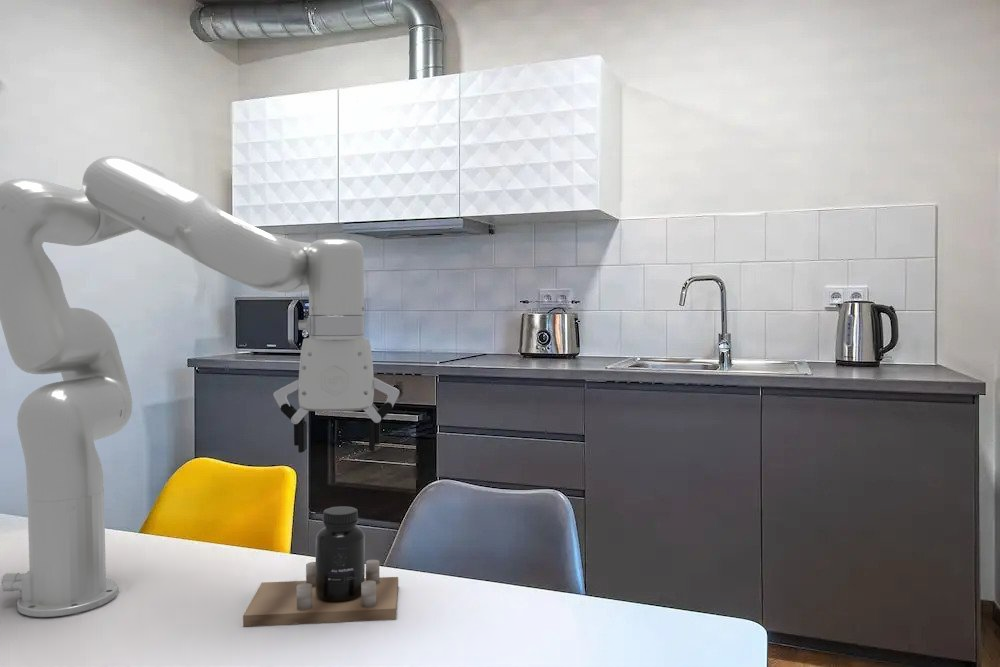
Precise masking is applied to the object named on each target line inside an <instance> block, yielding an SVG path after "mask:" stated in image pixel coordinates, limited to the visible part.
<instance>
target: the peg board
mask: <svg viewBox="0 0 1000 667" xmlns="http://www.w3.org/2000/svg"><path fill="white" fill-rule="evenodd" d="M398 593H399V576H385V577H380V560H378V559H368V560H365V581H364V582H362V583H361V596H360V597H358V598H356V599H353V600H350V601H345V602H328V601H324V600H321V599H320V598H318V596H317V595H316V561H311V562H307V563H306V564H305V580H293V581H291V580H289V581H288V580H287V581H286V580H285V581H265V582H261V583H260V585H259V587H258V588H257V590H256V591H255V594H254V595H253V597H252V599H251V601H250V603H249V604H248V606H247V607H246V610H245V611H244V613H243V615H242V627H244V628H245V627H263V626H264V627H265V626H283V625H284V626H286V625H287V626H288V625H289V626H290V625H307V624H308V625H309V624H327V623H328V624H329V623H345V622H346V623H348V622H367V621H368V622H369V621H373V622H374V621H391V620H393V621H394V620H397V609H398V597H399V594H398Z"/></svg>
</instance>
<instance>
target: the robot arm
mask: <svg viewBox="0 0 1000 667" xmlns="http://www.w3.org/2000/svg"><path fill="white" fill-rule="evenodd" d="M137 230H138V231H140V232H143V233H144V234H147V235H148V236H150V237H152V238H155V239H157V240H158V241H160V242H162V243H164V244H167V245H169V246H171V247H173V248H175V249H177V250H179V251H180V252H181V253H182V254H184V255H186V256H189V257H190V258H192V259H193V260H195V261H197V262H199V263H201V264H202V265H204V266H206V267H208V268H210V269H212V270H213V271H215V272H218V273H220V274H222V275H224V276H226V277H229V278H230V279H232V280H234V281H237V282H239V283H241V284H243V285H245V286H246V287H247V286H248V287H249V288H252V289H255V290H258V291H262V292H277V293H285V294H286V293H298V292H304V291H308V315H307V318H305V319H302V320H301V319H298V324H297V325H298V326H297V327H298V330H299V331H300V330H301V331H306V332H307V333H308V338H307V337H306V338H303V340H302V345H301V349H300V356H299V358H300V359H299V369H298V370H299V371H298V379H296V380H294V381H291V383H289V384H287V385H285V386H283V387H281V388H279V389H277V390H275V391H274V392H273V394H272V396H273V398H274V400H275V401H276V403H277V405H278V406H279V408H280V411H281V413H283V415H285V417H287V418H288V419H289V420H290V422H291V423H292V424H293V443H294V444H293V445H294V446H298V447H297V448H298V450H297V451H298V453H304V452H306V450H307V449H308V443H307V442H308V429H307V428H308V427H307V426H308V424H307V423H308V422H307V421H306V420H305V419H306V418H305V417H306V415H307V414H308V413H309V412H344V411H345V412H346V411H348V412H349V411H353V412H354V411H364V412H365V413H366V415H367V416H368V417H369V418H370V420H369V423H368V451H370V452H375V451H376V445H380V443H381V421H382V420H383V419H384V418H385V417H386V416H387V415H388V414H389V413H390V412H391V411H392V409H393V408H394V405H395V404H396V401H397V399H398V398H399V396H400V393H401V392H400V390H399V389H398V388H396V387H394V386H392V385H390V384H388V383H386V382H384V381H383V380H381V379H378V378H377V377H374V364H373V354H372V347H371V346H372V345H371V342H370V338H368V337H365V271H364V270H365V264H364V263H365V259H364V257H365V256H364V248H363V246H362V244H361V243H360V242H358V241H356V240H353V239H346V238H345V239H343V238H325V239H317V240H315V241H313V242H312V243H311V242H304V241H303V242H302V241H297V240H294V239H290V238H285V237H283V236H278V235H274V234H272V233H269V232H268V231H265V230H263V229H260V228H258V227H256V226H254V225H252V224H250V223H248V222H245V221H244V220H242V219H239V218H237V217H236V216H233V215H231V214H229V213H228V212H226V211H223V210H222V209H220V208H219V207H218V206H216V205H215V204H214V203H213V200H212V199H211V197H209V196H208V195H206V194H205V193H202V192H200V191H198V190H196V189H194V188H191V187H190V186H187V185H185V184H182V183H180V182H178V181H176V180H174V179H172V178H169V176H166V175H165V174H164V173H163V172H162V171H160V170H158V169H157V168H155V167H152V166H149V165H147V164H144V163H141V162H139V161H136V160H133V159H131V158H128V157H124V156H120V155H119V156H117V155H113V156H112V155H108V156H102V157H100V158H98V159H95V161H93V162H92V163H91V164H89V165H88V167H87V168H86V170H85V171H84V174H83V177H82V188H81V189H77V188H72V187H68V186H65V185H60V184H57V183H53V182H49V181H46V180H41V179H35V178H34V179H33V178H14V179H9V180H6V181H4V182H2V183H0V324H1V328H2V331H3V335H4V338H5V341H6V345H7V349H8V352H9V354H10V356H11V359H12V361H13V363H14V364H15V366H16V367H17V368H18V369H20V370H21V371H23V372H24V373H28V374H31V375H52V374H59V373H60V374H61V378H62V381H56V382H52V383H49V384H48V383H47V384H45V385H42V386H41V387H38V388H36V389H35V390H33V391H32V392H31V393H29V394H28V395H27V396H26V397H25V398H24V399H23V401H22V403H21V404H20V407H19V408H18V413H17V418H16V420H17V421H16V422H17V423H16V426H17V433H18V436H19V440H20V444H21V447H22V453H23V457H24V458H23V459H24V464H25V465H24V466H25V476H26V498H27V525H28V526H27V528H28V529H27V530H28V533H27V534H28V562H29V566H28V571H27V572H25V573H20V572H15V573H14V572H13V573H11V572H8V573H4V574H3V576H2V579H1V591H2V592H4V593H5V592H14V591H16V592H17V591H19V592H20V593H21V596H20V597H19V598H18V600H17V601H16V602H17V603H16V606H17V611H18V612H19V613H20V614H21V615H25V616H27V617H33V618H52V617H53V618H55V617H63V616H64V617H65V616H68V615H74V614H79V613H83V612H86V611H90V610H93V609H96V608H98V607H101V606H103V605H105V604H107V603H109V602H111V601H112V600H113V599H114V598H115V597H117V595H118V593H119V585H118V584H119V583H117V581H116V580H113V579H110V578H107V567H106V564H107V563H106V527H105V525H106V524H105V521H106V520H105V488H104V485H105V484H104V482H105V481H104V471H103V465H102V461H101V460H100V455H99V453H98V452H97V448H96V445H95V441H98V440H101V439H103V438H104V439H105V438H106V437H109V436H112V435H115V434H117V433H118V432H120V431H121V430H122V429H124V427H125V426H126V425H127V424H128V423H129V420H130V419H131V415H132V412H133V400H132V399H133V398H132V392H131V388H130V385H129V382H128V378H127V374H126V372H125V368H124V364H123V361H122V356H121V354H120V350H119V346H118V343H117V341H116V337H115V335H114V332H113V329H112V328H111V327H110V325H109V324H108V322H107V321H106V320H105V319H104V318H103V317H102V316H101V315H99V314H98V313H96V312H94V311H93V310H89V309H85V308H80V307H70V304H69V303H68V300H67V297H66V295H65V294H66V293H65V291H64V288H63V284H62V280H61V277H60V274H59V272H58V270H57V268H56V267H55V264H54V263H53V262H52V260H51V259H50V257H49V256H48V255H47V252H46V251H45V250H44V247H43V244H44V243H48V244H58V245H64V246H73V247H80V246H82V247H83V246H90V245H94V244H98V243H100V242H101V243H102V242H104V241H106V240H111V239H113V238H116V237H119V236H122V235H125V234H128V233H132V232H135V231H137ZM297 390H298V392H297V393H298V397H297V398H298V400H297V401H298V405H299V407H298V409H296V408H295V407H294V406H293V405H292V404H290V402H289V400H288V397H287V396H288V395H290V394H293V393H294V392H296V391H297ZM375 390H378V391H379V392H381V393H383V394H385V395H386V396H387V398H386V401H385V402H384V404H382V405H381V407H380V408H378V407H377V406H376V405H375V403H374V397H375Z"/></svg>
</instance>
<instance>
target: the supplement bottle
mask: <svg viewBox="0 0 1000 667" xmlns="http://www.w3.org/2000/svg"><path fill="white" fill-rule="evenodd" d="M358 511H359V509H357V508H355V507H353V506H342V505H341V506H331V507H329V508H325V509H324V510H323V512H322V514H323V515H322V516H323V517H322V525H323V526H324V527H323V528H321V529H320V530H319V531H318V532H317V534H316V536H315V562H316V595H317V596H318V598H320V599H321V600H324V601H328V602H345V601H350V600H353V599H356V598H358V597H360V596H361V583H362V582H364V581H365V578H366V560H365V558H366V557H365V556H366V555H365V554H366V547H365V546H366V535H365V532H364V531H363V529H362V528H361V527H360V526H358V525H357V524H358V523H359V513H358Z"/></svg>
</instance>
